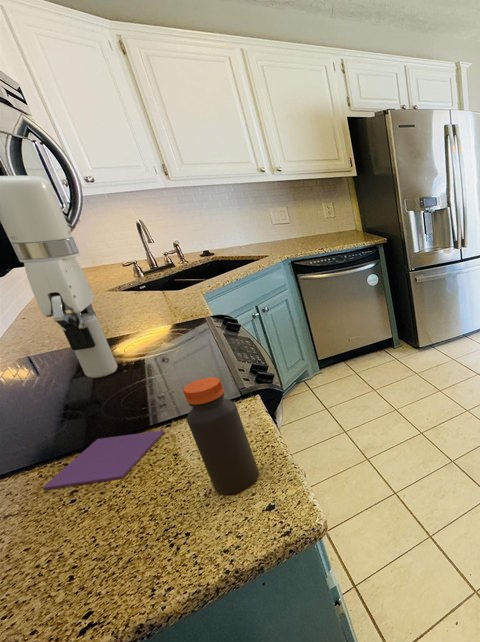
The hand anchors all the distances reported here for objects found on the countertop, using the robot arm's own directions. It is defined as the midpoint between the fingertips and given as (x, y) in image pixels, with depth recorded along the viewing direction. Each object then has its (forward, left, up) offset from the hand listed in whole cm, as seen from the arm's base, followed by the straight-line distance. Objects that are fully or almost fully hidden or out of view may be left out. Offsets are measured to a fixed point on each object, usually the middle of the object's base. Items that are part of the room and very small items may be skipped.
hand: (88, 342), depth 79 cm
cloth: (+2, -10, -21) cm, 23 cm away
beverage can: (0, 0, -7) cm, 7 cm away
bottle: (+29, -23, -21) cm, 42 cm away
